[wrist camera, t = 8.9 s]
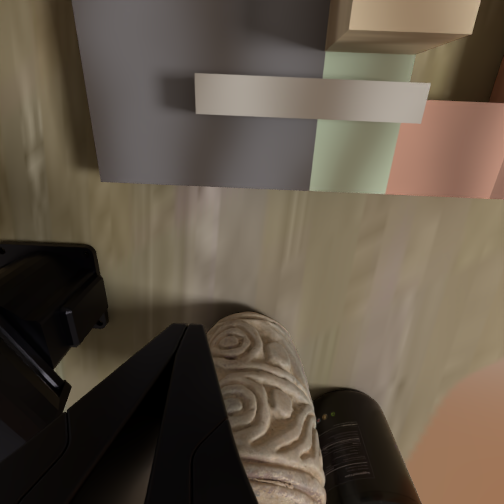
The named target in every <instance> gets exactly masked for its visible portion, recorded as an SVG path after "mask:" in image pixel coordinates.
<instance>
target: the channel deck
mask: <svg viewBox="0 0 504 504" xmlns="http://www.w3.org/2000/svg"><path fill="white" fill-rule="evenodd" d="M72 6H73V12H74V18H75V24H76V31H77V37H78V43H79V49H80V55H81V61H82V68H83V74H84V80H85V86H86V92H87V98H88V105H89V111H90V117H91V123H92V129H93V135H94V142H95V148H96V154H97V160H98V166H99V172H100V179H101V182H118V183H141V184H164V185H187V186H210V187H233V188H256V189H279V190H302V191H325V192H348V193H371V194H394V195H417V196H440V197H463V198H486V199H504V56H503V59H502V62H501V65H500V68H499V71H498V74H497V77H496V81H495V84H494V87H493V90H492V93H491V96H490V99H489V102H488V103H486V102H463V101H439V100H427V97H428V93H429V89H430V85H431V83H412V82H410V79H411V75H412V70H413V66H414V61H415V56H416V55H407V54H380V53H353V52H327V51H325V45H326V36H327V27H328V18H329V9H330V0H72Z"/></svg>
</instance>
